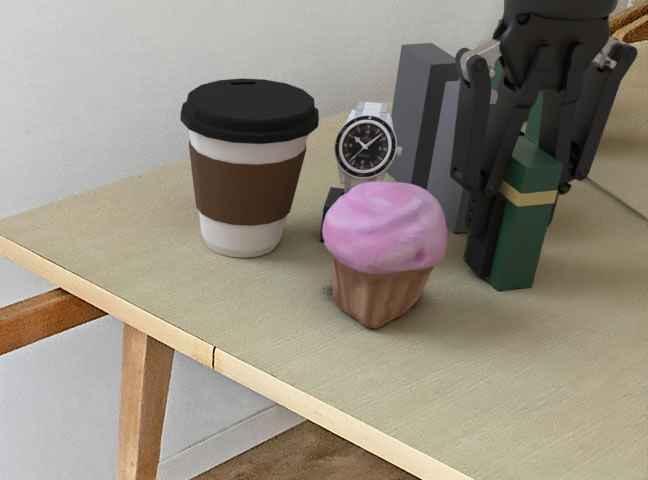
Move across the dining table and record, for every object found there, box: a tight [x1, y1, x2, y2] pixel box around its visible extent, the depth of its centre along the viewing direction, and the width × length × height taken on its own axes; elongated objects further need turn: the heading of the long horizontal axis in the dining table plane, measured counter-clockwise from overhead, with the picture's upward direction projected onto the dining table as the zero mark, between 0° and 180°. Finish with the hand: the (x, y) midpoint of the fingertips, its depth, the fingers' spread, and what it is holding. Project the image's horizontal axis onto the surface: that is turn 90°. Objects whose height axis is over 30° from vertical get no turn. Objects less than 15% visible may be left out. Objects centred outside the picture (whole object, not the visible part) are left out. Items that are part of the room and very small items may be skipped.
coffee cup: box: [179, 78, 320, 259], centre depth 87 cm, size 11×11×12 cm
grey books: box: [386, 42, 498, 234], centre depth 95 cm, size 15×3×12 cm, turn 14°
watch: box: [319, 100, 402, 243], centre depth 89 cm, size 6×8×11 cm
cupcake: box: [322, 181, 448, 329], centre depth 79 cm, size 9×9×10 cm
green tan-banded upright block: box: [462, 136, 563, 292], centre depth 84 cm, size 6×3×10 cm, turn 14°
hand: (497, 266), depth 87 cm, fingers closed on green tan-banded upright block, 3 cm apart
